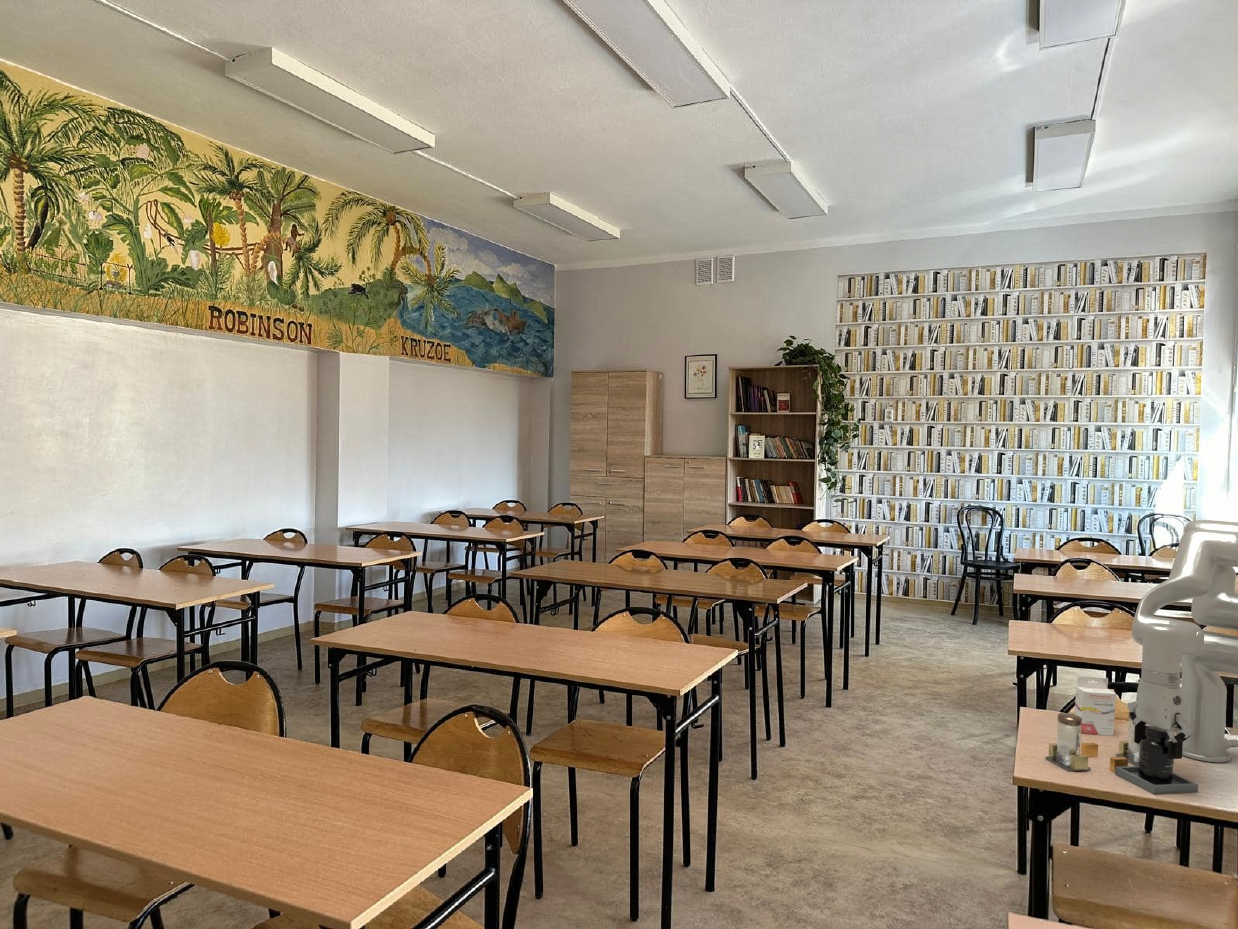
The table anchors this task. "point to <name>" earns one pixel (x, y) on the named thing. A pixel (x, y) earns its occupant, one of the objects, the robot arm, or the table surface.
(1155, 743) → the supplement bottle
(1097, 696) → the ink cartridge box
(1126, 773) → the tray
